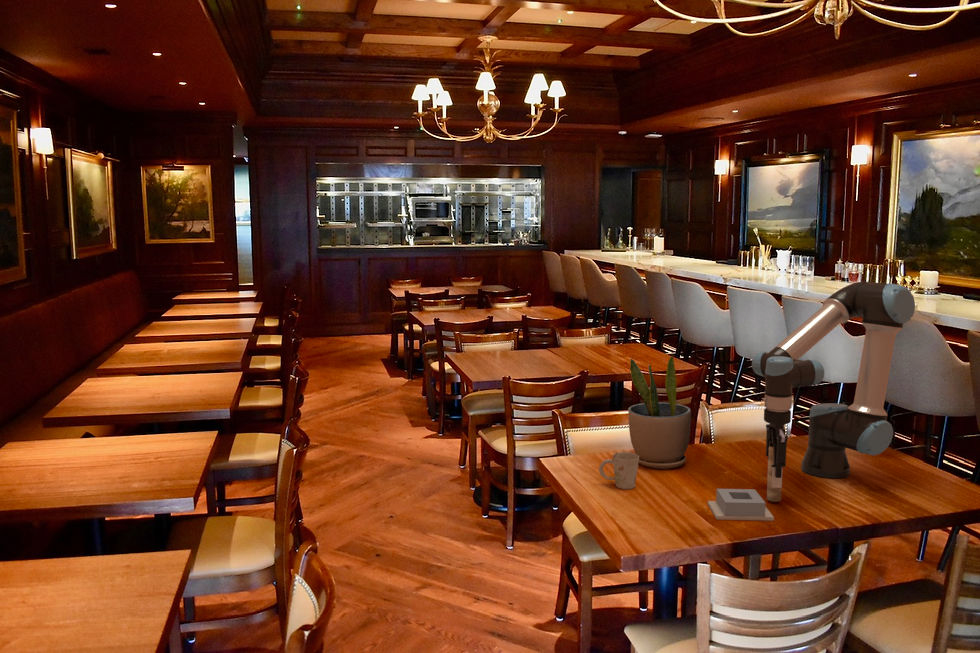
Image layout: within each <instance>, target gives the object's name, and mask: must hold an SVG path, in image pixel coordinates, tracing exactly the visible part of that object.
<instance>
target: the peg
mask: <svg viewBox="0 0 980 653" xmlns="http://www.w3.org/2000/svg"><path fill="white" fill-rule="evenodd" d="M767 458H768V459H767V477H768V482H767V481H766V482H767V483H766V484H767V486H766V488H767V489H766V500H767V501H769V502H775V503H777V502H781V500H782V488H772V469H773V467H772V466H771V465H774V446H770V447H769V457H768V456H767Z"/></svg>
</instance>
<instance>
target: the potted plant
mask: <svg viewBox="0 0 980 653" xmlns="http://www.w3.org/2000/svg"><path fill="white" fill-rule="evenodd" d="M629 360H630V361H629V363H630V366H629V367H630V376H631V381H632V384H633V385H634V387H635V389H636V390H637V392H638V393H639V395H640V396H641V399H642V401H644V403H637V404H634V405H631V406H629V407H628V408H627V411H628V430H629V438H630V442H631V445H632V448H633V451H634V452H635V454H637V455H638V456H639V463H638V465H641V466H643V467H647V468H651V469H652V468H653V469H660V470H661V469H662V470H663V469H664V470H666V469H676V468H679V467H682V465H684V464H685V463H686V462H687V456H686V455H685V454H686V451H687V449H688V447H689V443H690V436H691V424H692V422H691V420H692V419H691V418H692V416H691V415H692V414H691V413H692V411H691V408H690V407H688V406H686V405H682V404H678V403H677V377H676V368H675V362H674V360H675V359H674V354H672V355H671V356H670V358H669V359H668V362H667V366H666V373H665V383H664V384H665V385H664V386H665V391H666V395H667V398H668V402H661V401H660V402H659V395H658V389H657V385H656V382H655V378H654V375H653V370H652V369H653V368H652V366H651V365H650V363H649V364H648V374H649V380H650V385H648V383H647V380H646V378H645V376H644V374H643V372H642V371H641V369H640V367H639V365H638V363H636V361H635V360H634V359H632V358H630V359H629Z"/></svg>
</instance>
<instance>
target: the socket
mask: <svg viewBox="0 0 980 653" xmlns="http://www.w3.org/2000/svg"><path fill="white" fill-rule="evenodd" d="M766 505H767V504H766V501H765V500H764V499H763V498H762V496H761V495H760V494H759V493H758V492H757V490H756V489H754V488H753V489H751V488H749V489H747V488H746V489H745V488H743V489H742V488H716V497H715V500H707V506H708V507H709V509H710V511H711V513H712V514H713V516H714V517H715V520H722V521H724V520H727V521H730V520H731V521H765V522H767V521H769V522H770V521H773V522H774V521H775V516H773V514H772V512H770V510H769V509H768V508H767V506H766Z"/></svg>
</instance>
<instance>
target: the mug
mask: <svg viewBox="0 0 980 653" xmlns="http://www.w3.org/2000/svg"><path fill="white" fill-rule="evenodd" d="M606 464H612V465H613V472H614V473H613V474H614V476H607V475H606V474H605V471H604V467H605V466H606ZM638 469H639V456H638V455H637V454H636V453H634V452H630V451H629V452H627V451H619V452H618V451H617V452H615V453H613V454H612V458H611V459H609V458H607V459H604V460H603V461H602V462H600V464H599V466H598V472H599V474H600V476H601V477H603V478H604V479H605V480H610V481H614V482H615V487H616V488H618V489H620V490H621V489H623V490H632V489H634V488H635V487H636V480H637V473H638Z"/></svg>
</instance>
